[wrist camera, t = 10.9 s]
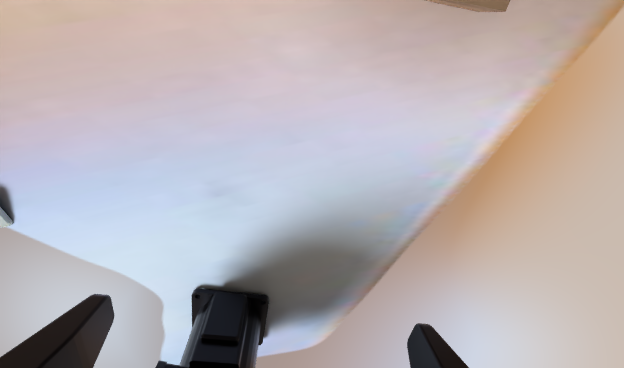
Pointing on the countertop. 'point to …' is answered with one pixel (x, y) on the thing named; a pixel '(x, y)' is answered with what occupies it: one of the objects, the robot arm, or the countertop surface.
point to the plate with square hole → (477, 4)
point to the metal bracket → (4, 219)
